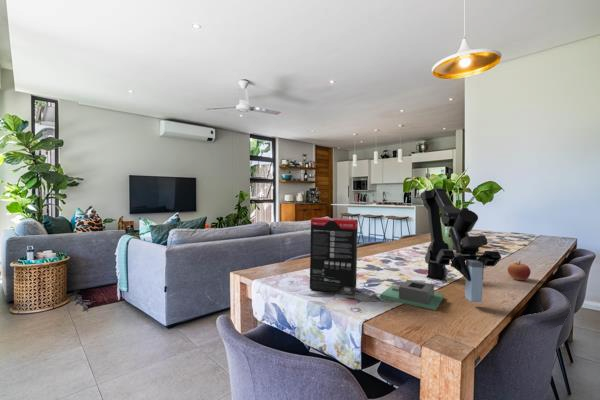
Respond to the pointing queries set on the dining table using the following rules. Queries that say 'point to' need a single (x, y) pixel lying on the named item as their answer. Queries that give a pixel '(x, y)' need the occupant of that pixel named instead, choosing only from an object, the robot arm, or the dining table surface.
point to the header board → (396, 295)
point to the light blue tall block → (474, 281)
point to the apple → (519, 271)
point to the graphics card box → (333, 255)
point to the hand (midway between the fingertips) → (476, 280)
